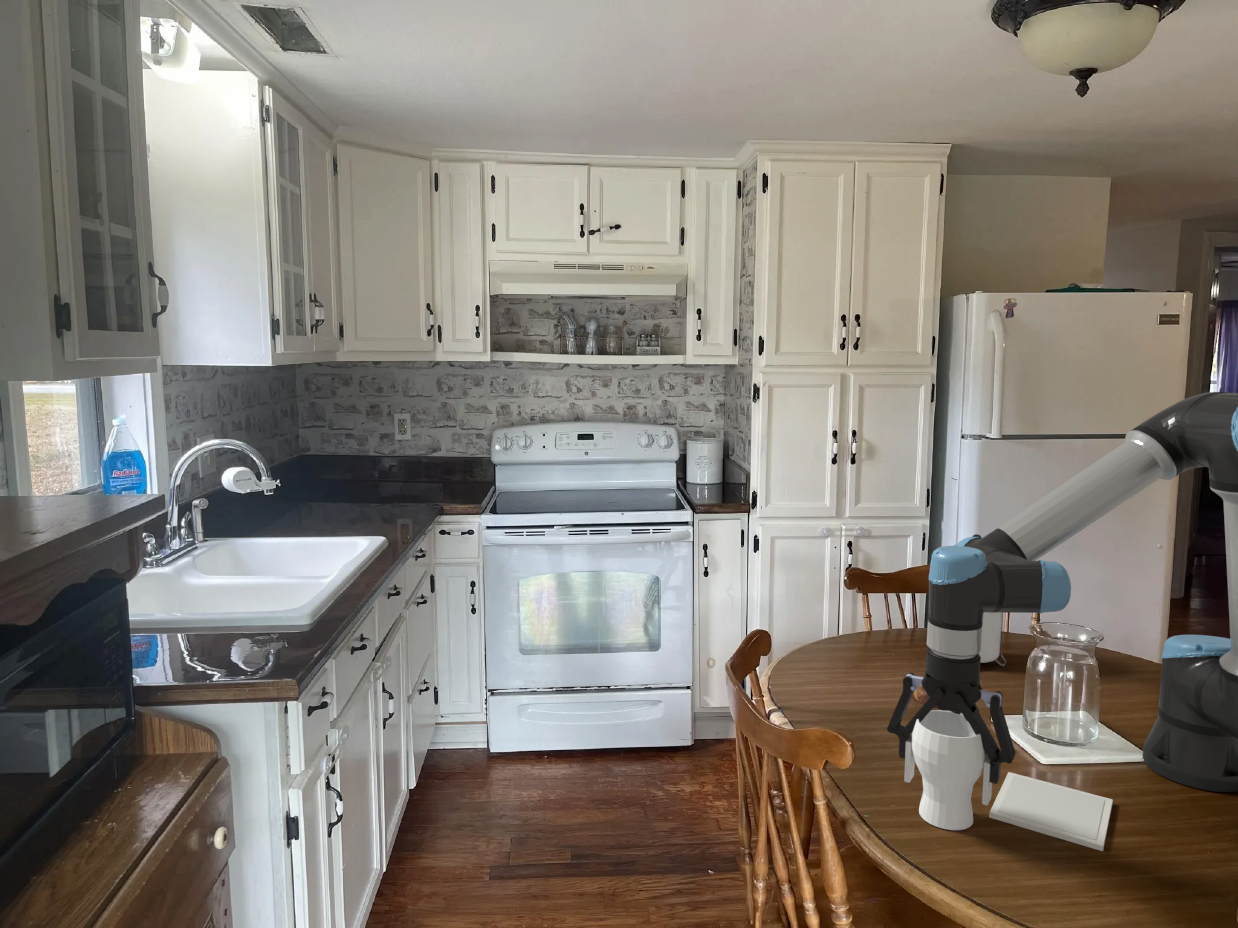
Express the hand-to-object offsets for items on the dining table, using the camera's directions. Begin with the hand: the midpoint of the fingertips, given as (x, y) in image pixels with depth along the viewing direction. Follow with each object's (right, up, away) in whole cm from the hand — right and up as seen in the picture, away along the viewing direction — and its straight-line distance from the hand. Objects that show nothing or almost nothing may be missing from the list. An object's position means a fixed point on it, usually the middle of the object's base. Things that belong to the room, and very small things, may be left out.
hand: (946, 789), depth 123 cm
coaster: (+17, -4, +2) cm, 18 cm away
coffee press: (+31, +4, +65) cm, 72 cm away
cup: (0, -5, +1) cm, 5 cm away
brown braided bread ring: (+15, +1, +44) cm, 47 cm away
